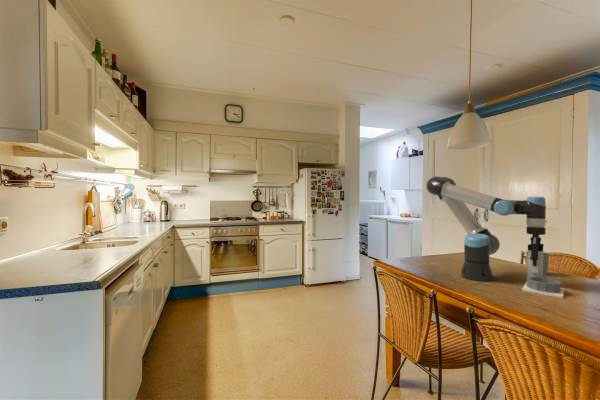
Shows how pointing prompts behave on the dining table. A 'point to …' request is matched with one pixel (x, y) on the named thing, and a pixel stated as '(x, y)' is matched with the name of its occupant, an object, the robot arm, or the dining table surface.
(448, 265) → the dining table surface
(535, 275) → the travel mug
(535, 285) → the cup holder
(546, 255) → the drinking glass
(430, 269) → the dining table surface
